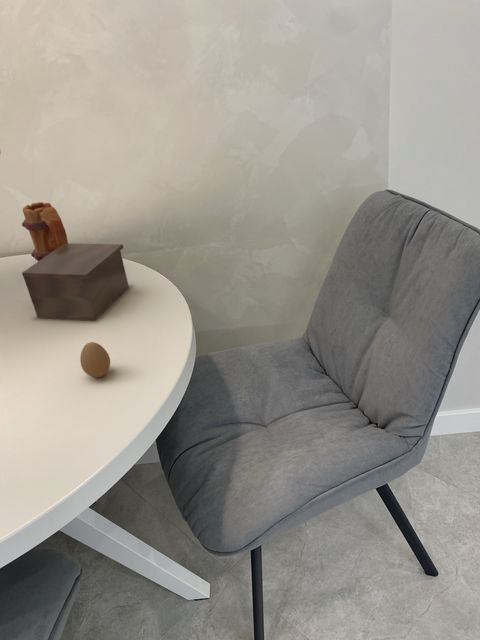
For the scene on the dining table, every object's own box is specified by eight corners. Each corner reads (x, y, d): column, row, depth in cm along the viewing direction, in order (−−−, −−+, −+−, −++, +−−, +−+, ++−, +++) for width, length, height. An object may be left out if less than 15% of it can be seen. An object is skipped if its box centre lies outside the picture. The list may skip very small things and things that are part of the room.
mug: (31, 265, 131) (10, 203, 123) (63, 254, 135) (44, 194, 127) (56, 281, 121) (35, 215, 113) (89, 269, 125) (71, 205, 117)
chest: (129, 287, 115) (119, 247, 110) (94, 321, 103) (82, 278, 99) (76, 285, 118) (65, 247, 114) (37, 318, 107) (23, 276, 102)
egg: (85, 371, 89) (75, 339, 86) (113, 364, 90) (104, 333, 86) (85, 386, 85) (75, 353, 82) (114, 379, 86) (105, 347, 83)
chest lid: (123, 247, 110) (122, 244, 110) (86, 278, 98) (85, 274, 98) (65, 246, 114) (64, 243, 113) (23, 276, 102) (21, 272, 101)
